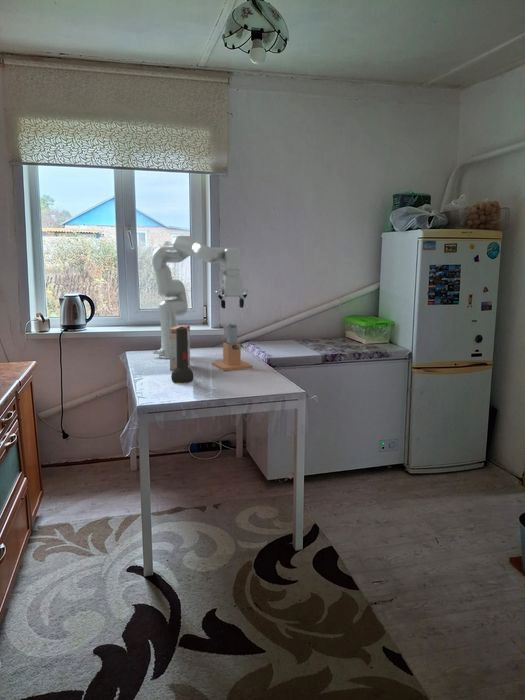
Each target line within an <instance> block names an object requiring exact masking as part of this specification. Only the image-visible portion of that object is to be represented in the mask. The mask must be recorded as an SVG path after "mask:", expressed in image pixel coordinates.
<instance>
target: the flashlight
mask: <svg viewBox="0 0 525 700" xmlns="http://www.w3.org/2000/svg"><path fill="white" fill-rule="evenodd" d="M176 352H177V367H176V368H175V369H174V370H172V372H171V375H170V376H171V377H170V379H171V381H172V383H174V384H175V383H176V384H189V382H190V383H192V382H193V381H194V378H195V375H194V371H193V370H192V368H190V367H189V366H188V339H187V328H185V327H183V326H181V327H179V328H177V329H176Z"/></svg>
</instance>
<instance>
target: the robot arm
mask: <svg viewBox="0 0 525 700" xmlns="http://www.w3.org/2000/svg"><path fill="white" fill-rule="evenodd" d="M240 252H241V251H240V249H239V248H238V247H215V246H214V247H211V246H208V245H204V243H203V241H201V240H199V239H197V238H196V237H195V236H191V235H177V236H175V237H174V238H173V240H172V246H160V247H157V248H155V249H154V251H153V253H152V257H151V262H152V266H153V267H152V268H153V270H154V273H155V280H156V285H157V290H158V291H157V292H158V294H159V296H160V297H162V298H172V299H165V300H162V301H161V302H160V303H159V305H158V307H157V308H158V314H159V318H160V319H159V321H160V340H161V341H160V344H161V346H160V348H159V349H158V350H152V355H158V358H160V359H165V360H166V359H167V360H168V359H169V360H170V328H173V327H176V326H179V323H178V320H177V318H176V317H181V316H182V317H183V316H184V315H186V313H188V310H189V306H188V305H189V304H188V300H187V299H188V298H187V293H186V287H185V285H184V283H183V282H182V281H181V280H179V279H173V276H172V271H171V269H170V267H169V265H168V264H169V263H175V264H176V263H181V262H183V261H185V260H186V259H187V258H188V257H190V256H193V257H195V258H196V259H198V260H200V261H202V262H206V263H211V264H223V263H224V269H223V270H222V271H221V274H222V275H223V277H222V283H221V288H219V289H218V290H216V291H215V294H216V296H217V298H218V299H219V300H220V306H221V308H222V309H226V300H225V299H226V298H227V297H228V298H229V297H239V300H238V301H239V306H238V307H239V308H244V306H245V305H244V304H245V302H244V301H245V299H246V298H247V297H248V294H249V292H250V291H249V290H248V289H246V288H245V287H244V283H243V277H242V275H240V274H241V271H240V270H241V267H240V266H241V265H240V264H241V263H240V260H241V259H240V258H241V257H240V255H241V254H240ZM220 293H221V294H220Z"/></svg>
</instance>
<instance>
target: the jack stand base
mask: <svg viewBox="0 0 525 700" xmlns="http://www.w3.org/2000/svg"><path fill="white" fill-rule="evenodd" d="M241 346H242V344H241V343H239V342H237V344H230V345H229V344H227V342H223V343H222V360H218V361H217V360H216V361H211V366H213V367H214V368H217V369H218V368H219V369H218V370H220V369H221V370H220V371H222V370H223V371H222V372H226V371H225V370H230V371H237V370H236V369H240V370H249V369H248V368H251V369H253V365H252V364H250V363H248V362H246V361H244V360H242V358H241V349H242V348H241Z"/></svg>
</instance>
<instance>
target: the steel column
mask: <svg viewBox="0 0 525 700" xmlns="http://www.w3.org/2000/svg"><path fill="white" fill-rule="evenodd" d="M226 343H227V344H229V345H230V344H237V343H238V326H237V324H233V323H231V324H229V323H228V324H227V325H226Z"/></svg>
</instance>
